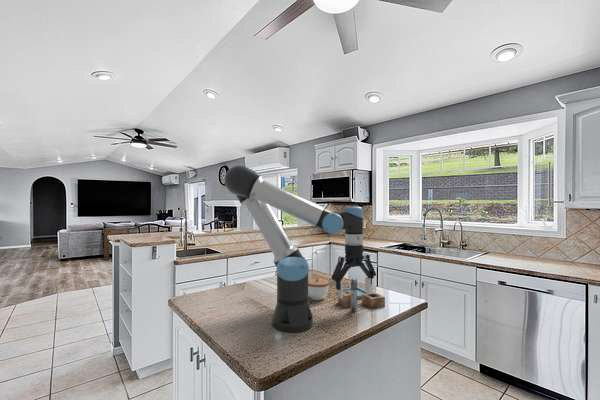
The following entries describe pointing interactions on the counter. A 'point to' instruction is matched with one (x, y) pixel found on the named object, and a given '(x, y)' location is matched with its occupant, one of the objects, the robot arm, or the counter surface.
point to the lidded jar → (317, 288)
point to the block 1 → (345, 299)
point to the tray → (359, 292)
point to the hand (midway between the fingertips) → (354, 295)
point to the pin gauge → (354, 295)
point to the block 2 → (373, 300)
